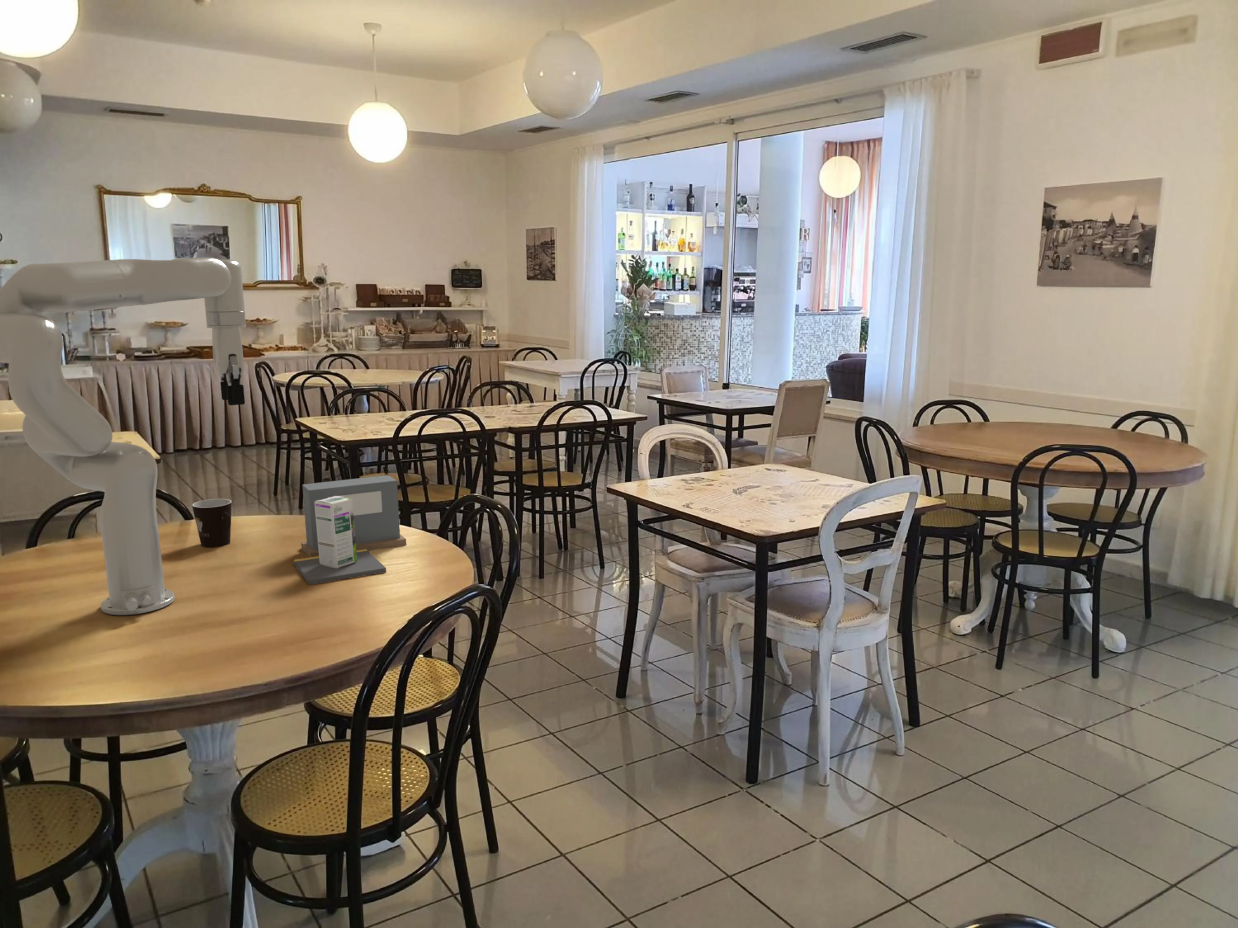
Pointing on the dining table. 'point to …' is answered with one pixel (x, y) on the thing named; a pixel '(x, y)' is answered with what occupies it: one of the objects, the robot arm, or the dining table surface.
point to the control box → (358, 511)
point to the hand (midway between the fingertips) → (233, 402)
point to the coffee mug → (213, 522)
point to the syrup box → (335, 531)
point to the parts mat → (322, 574)
